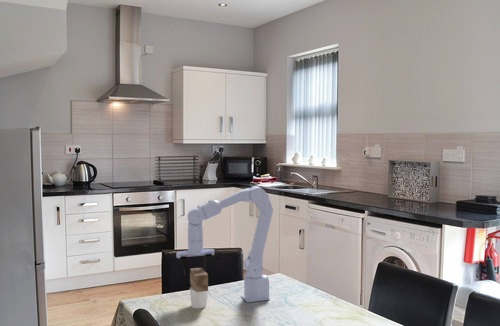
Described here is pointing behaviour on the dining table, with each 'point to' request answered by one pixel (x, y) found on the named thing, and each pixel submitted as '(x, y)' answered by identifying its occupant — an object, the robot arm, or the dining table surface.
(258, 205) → the robot arm
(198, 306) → the white cylinder
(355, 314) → the dining table surface
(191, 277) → the walnut block
